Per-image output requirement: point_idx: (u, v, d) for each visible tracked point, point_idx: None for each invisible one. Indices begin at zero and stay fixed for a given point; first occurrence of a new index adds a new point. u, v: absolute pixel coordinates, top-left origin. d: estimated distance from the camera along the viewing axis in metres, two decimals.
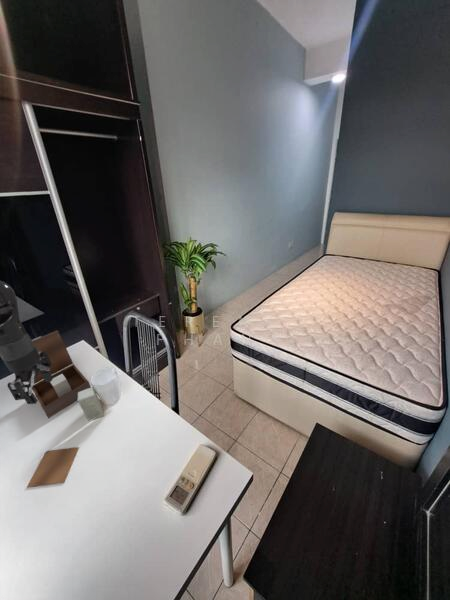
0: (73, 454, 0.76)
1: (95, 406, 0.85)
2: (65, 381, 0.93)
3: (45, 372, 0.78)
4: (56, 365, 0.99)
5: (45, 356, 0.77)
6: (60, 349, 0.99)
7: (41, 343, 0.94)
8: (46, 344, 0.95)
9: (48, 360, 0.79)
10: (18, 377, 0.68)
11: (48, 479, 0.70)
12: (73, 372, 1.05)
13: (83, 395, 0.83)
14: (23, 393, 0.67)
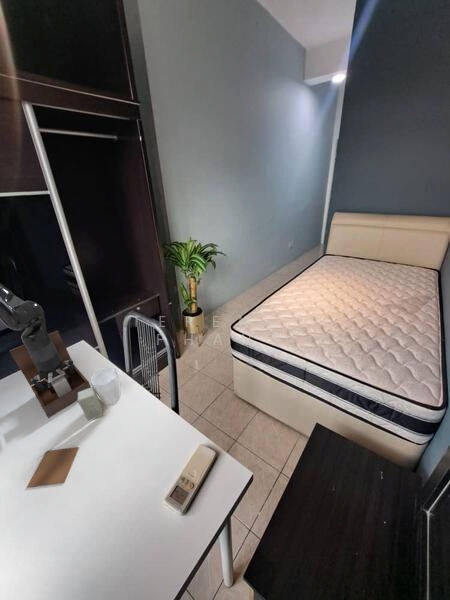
0: (73, 454, 0.76)
1: (95, 406, 0.85)
2: (65, 381, 0.93)
3: None
4: None
5: (71, 365, 0.94)
6: (60, 349, 0.99)
7: None
8: None
9: (71, 369, 0.95)
10: (38, 374, 0.87)
11: (48, 479, 0.70)
12: None
13: (83, 395, 0.83)
14: (41, 386, 0.88)
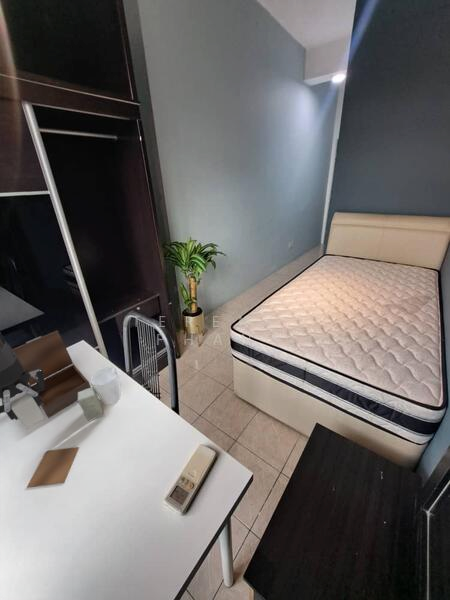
0: (73, 454, 0.76)
1: (95, 406, 0.85)
2: (31, 401, 0.64)
3: (32, 396, 0.66)
4: (56, 365, 0.99)
5: (40, 378, 0.65)
6: (60, 349, 0.99)
7: (41, 343, 0.94)
8: (46, 344, 0.95)
9: (41, 384, 0.66)
10: None
11: (48, 479, 0.70)
12: (73, 372, 1.05)
13: (83, 395, 0.83)
14: None
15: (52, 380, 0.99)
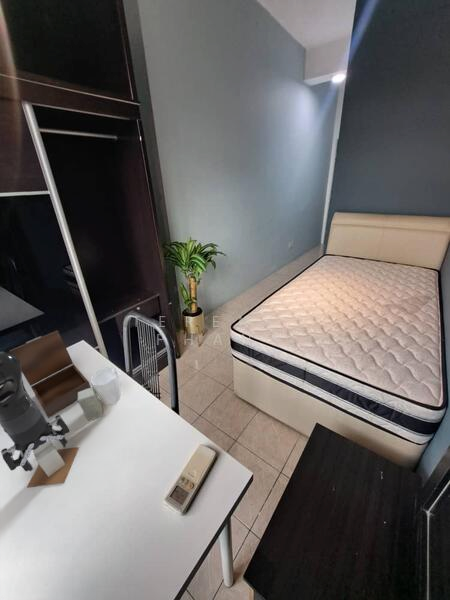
0: (73, 454, 0.76)
1: (95, 406, 0.85)
2: (54, 451, 0.70)
3: (58, 438, 0.72)
4: (56, 365, 0.99)
5: (61, 424, 0.70)
6: (60, 349, 0.99)
7: (41, 343, 0.94)
8: (46, 344, 0.95)
9: (65, 428, 0.71)
10: (14, 446, 0.64)
11: (48, 479, 0.70)
12: (73, 372, 1.05)
13: (83, 395, 0.83)
14: (11, 465, 0.63)
15: (52, 380, 0.99)
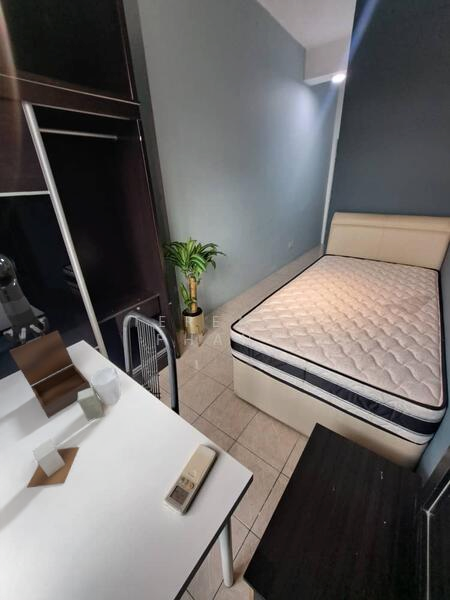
0: (73, 454, 0.76)
1: (95, 406, 0.85)
2: (54, 451, 0.70)
3: (41, 335, 0.96)
4: (56, 365, 0.99)
5: (45, 322, 0.96)
6: (60, 349, 0.99)
7: (41, 343, 0.94)
8: (46, 344, 0.95)
9: (47, 327, 0.96)
10: (11, 329, 0.89)
11: (48, 479, 0.70)
12: (73, 372, 1.05)
13: (83, 395, 0.83)
14: (13, 341, 0.89)
15: (52, 380, 0.99)
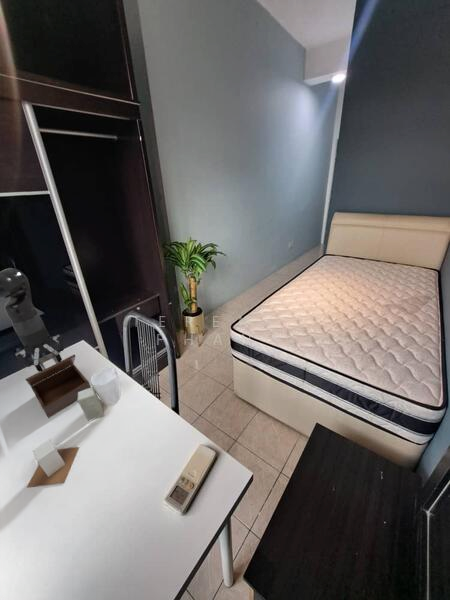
0: (73, 454, 0.76)
1: (95, 406, 0.85)
2: (54, 451, 0.70)
3: (55, 354, 0.89)
4: (59, 370, 0.99)
5: (60, 341, 0.88)
6: (69, 362, 0.97)
7: (56, 366, 0.89)
8: (60, 365, 0.91)
9: (61, 345, 0.89)
10: (24, 349, 0.82)
11: (48, 479, 0.70)
12: (73, 372, 1.05)
13: (83, 395, 0.83)
14: (26, 363, 0.82)
15: (52, 380, 0.99)
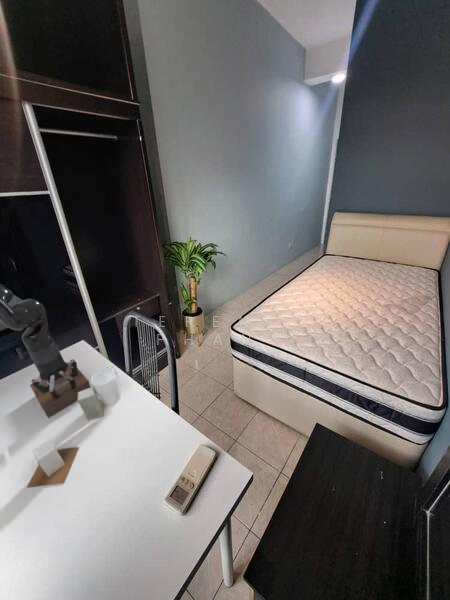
0: (73, 454, 0.76)
1: (95, 406, 0.85)
2: (54, 451, 0.70)
3: (69, 380, 0.90)
4: None
5: (74, 366, 0.89)
6: None
7: None
8: None
9: (75, 371, 0.90)
10: (40, 377, 0.83)
11: (48, 479, 0.70)
12: None
13: (83, 395, 0.83)
14: (42, 390, 0.83)
15: None
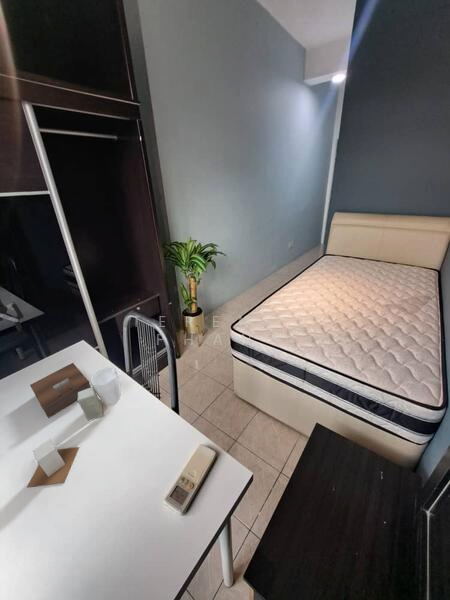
0: (73, 454, 0.76)
1: (95, 406, 0.85)
2: (54, 451, 0.70)
3: (14, 321, 0.87)
4: None
5: (15, 308, 0.85)
6: None
7: None
8: None
9: (19, 313, 0.86)
10: None
11: (48, 479, 0.70)
12: None
13: (83, 395, 0.83)
14: None
15: None
